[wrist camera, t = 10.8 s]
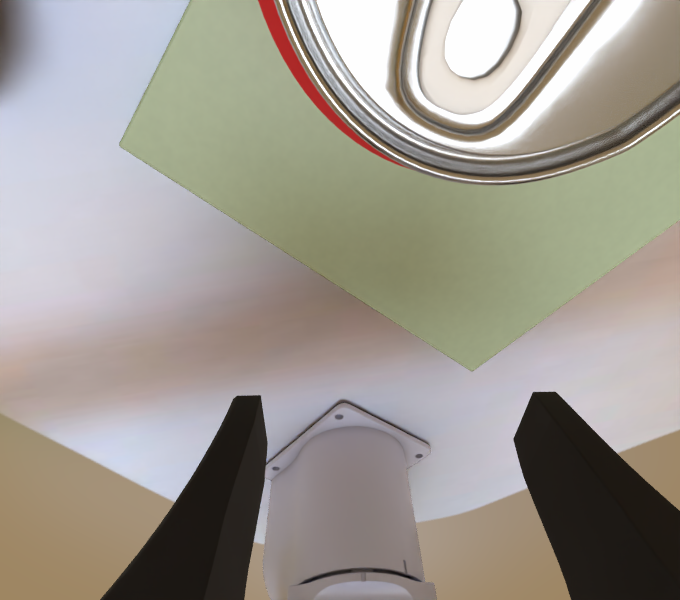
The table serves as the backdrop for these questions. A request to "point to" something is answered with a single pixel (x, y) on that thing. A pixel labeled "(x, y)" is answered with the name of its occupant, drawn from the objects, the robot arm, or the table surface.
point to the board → (388, 195)
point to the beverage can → (486, 79)
